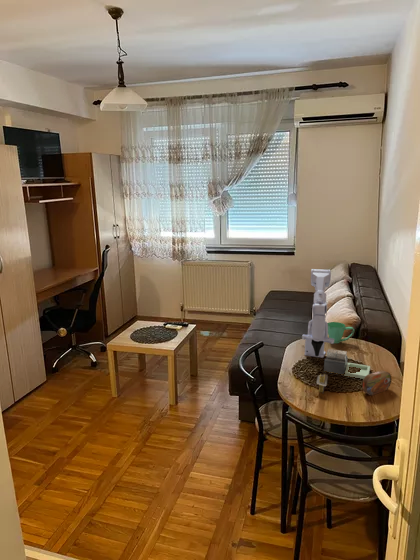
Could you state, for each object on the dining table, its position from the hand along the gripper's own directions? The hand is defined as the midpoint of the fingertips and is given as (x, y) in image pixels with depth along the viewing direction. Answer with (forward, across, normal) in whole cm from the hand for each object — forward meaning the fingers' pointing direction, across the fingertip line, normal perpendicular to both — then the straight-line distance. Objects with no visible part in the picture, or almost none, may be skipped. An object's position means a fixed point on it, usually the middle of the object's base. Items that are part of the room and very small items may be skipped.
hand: (317, 355), depth 194 cm
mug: (+6, +6, +37) cm, 38 cm away
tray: (+6, +19, 0) cm, 19 cm away
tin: (+6, +27, -15) cm, 32 cm away
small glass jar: (+6, +6, -22) cm, 24 cm away
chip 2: (+1, +11, 0) cm, 11 cm away
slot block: (+6, +9, 0) cm, 10 cm away
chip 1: (+1, +7, 0) cm, 7 cm away
